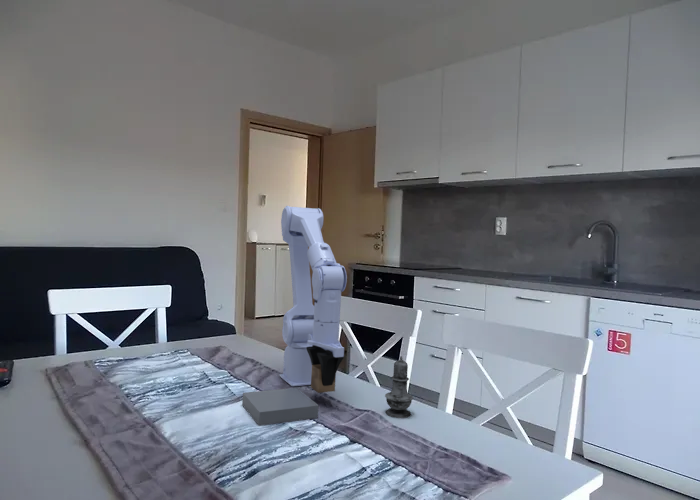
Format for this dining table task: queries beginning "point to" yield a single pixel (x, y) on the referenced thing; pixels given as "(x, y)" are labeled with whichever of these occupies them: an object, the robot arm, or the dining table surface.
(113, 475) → the dining table surface
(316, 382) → the walnut block
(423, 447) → the dining table surface
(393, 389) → the salt shaker
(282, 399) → the slate coaster
